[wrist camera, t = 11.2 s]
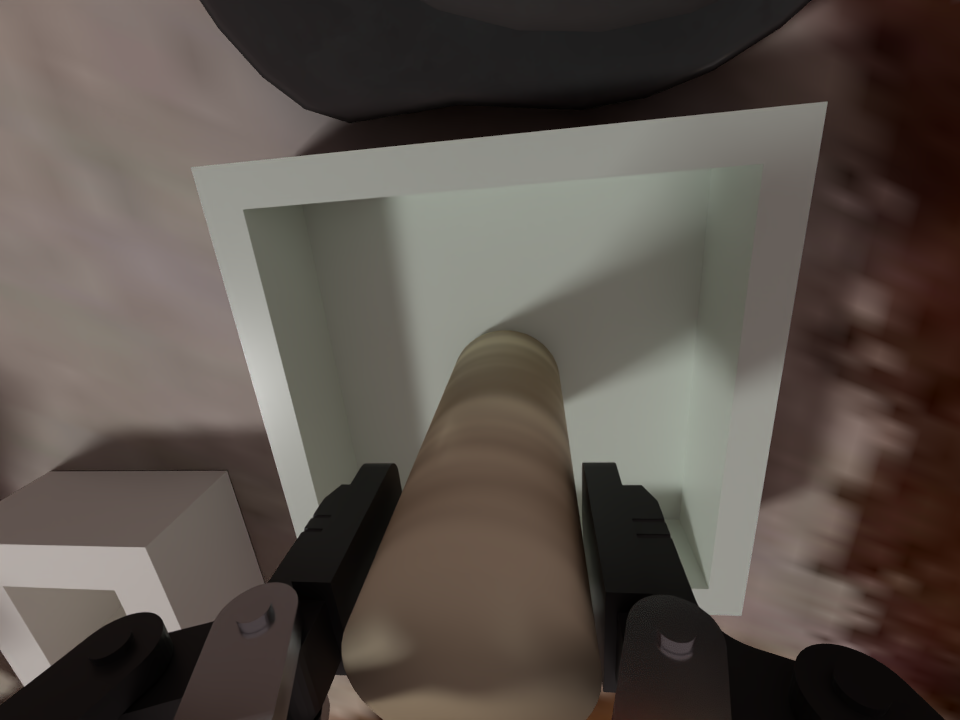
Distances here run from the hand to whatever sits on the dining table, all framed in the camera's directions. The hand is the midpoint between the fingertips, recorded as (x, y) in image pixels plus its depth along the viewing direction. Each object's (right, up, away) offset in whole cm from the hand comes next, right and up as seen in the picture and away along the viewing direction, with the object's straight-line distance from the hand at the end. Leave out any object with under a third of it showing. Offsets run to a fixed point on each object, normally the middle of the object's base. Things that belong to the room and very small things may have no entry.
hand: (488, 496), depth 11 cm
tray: (+1, +3, +8) cm, 8 cm away
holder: (-17, -7, +14) cm, 23 cm away
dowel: (+1, +2, +6) cm, 7 cm away
